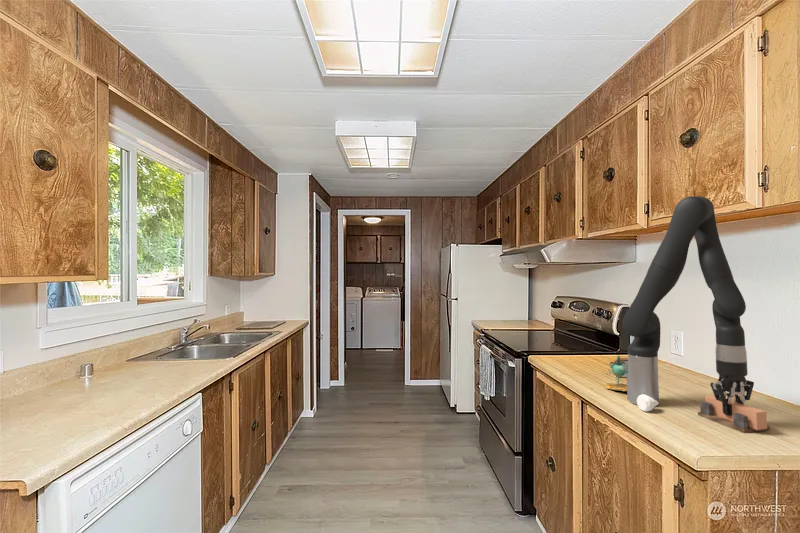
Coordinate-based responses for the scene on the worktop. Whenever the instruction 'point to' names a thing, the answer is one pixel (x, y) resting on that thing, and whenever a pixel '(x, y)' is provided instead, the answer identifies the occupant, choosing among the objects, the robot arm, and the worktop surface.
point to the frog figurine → (618, 371)
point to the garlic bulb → (646, 403)
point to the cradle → (739, 419)
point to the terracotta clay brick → (755, 416)
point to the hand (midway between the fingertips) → (733, 414)
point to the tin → (624, 365)
